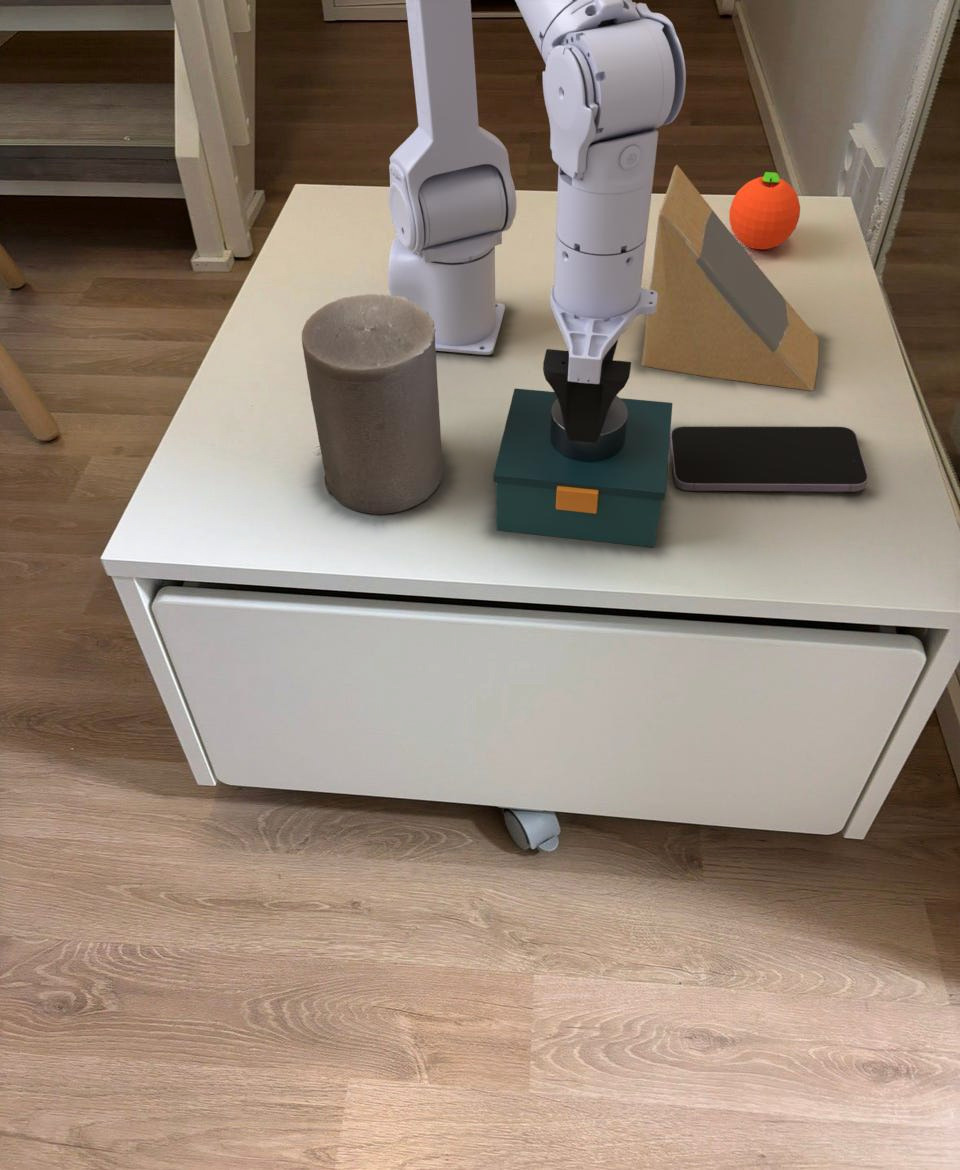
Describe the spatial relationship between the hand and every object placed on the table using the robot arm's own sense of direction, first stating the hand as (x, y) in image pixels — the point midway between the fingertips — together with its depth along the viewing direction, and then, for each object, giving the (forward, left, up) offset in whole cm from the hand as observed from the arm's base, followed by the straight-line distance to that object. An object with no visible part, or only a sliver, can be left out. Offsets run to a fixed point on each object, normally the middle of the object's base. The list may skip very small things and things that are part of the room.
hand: (588, 404), depth 75 cm
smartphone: (+14, +6, -9) cm, 18 cm away
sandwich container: (+12, +21, -9) cm, 26 cm away
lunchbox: (0, 0, -9) cm, 9 cm away
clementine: (+14, +41, -9) cm, 44 cm away
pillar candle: (-16, 0, -9) cm, 18 cm away
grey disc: (0, 0, -3) cm, 3 cm away
